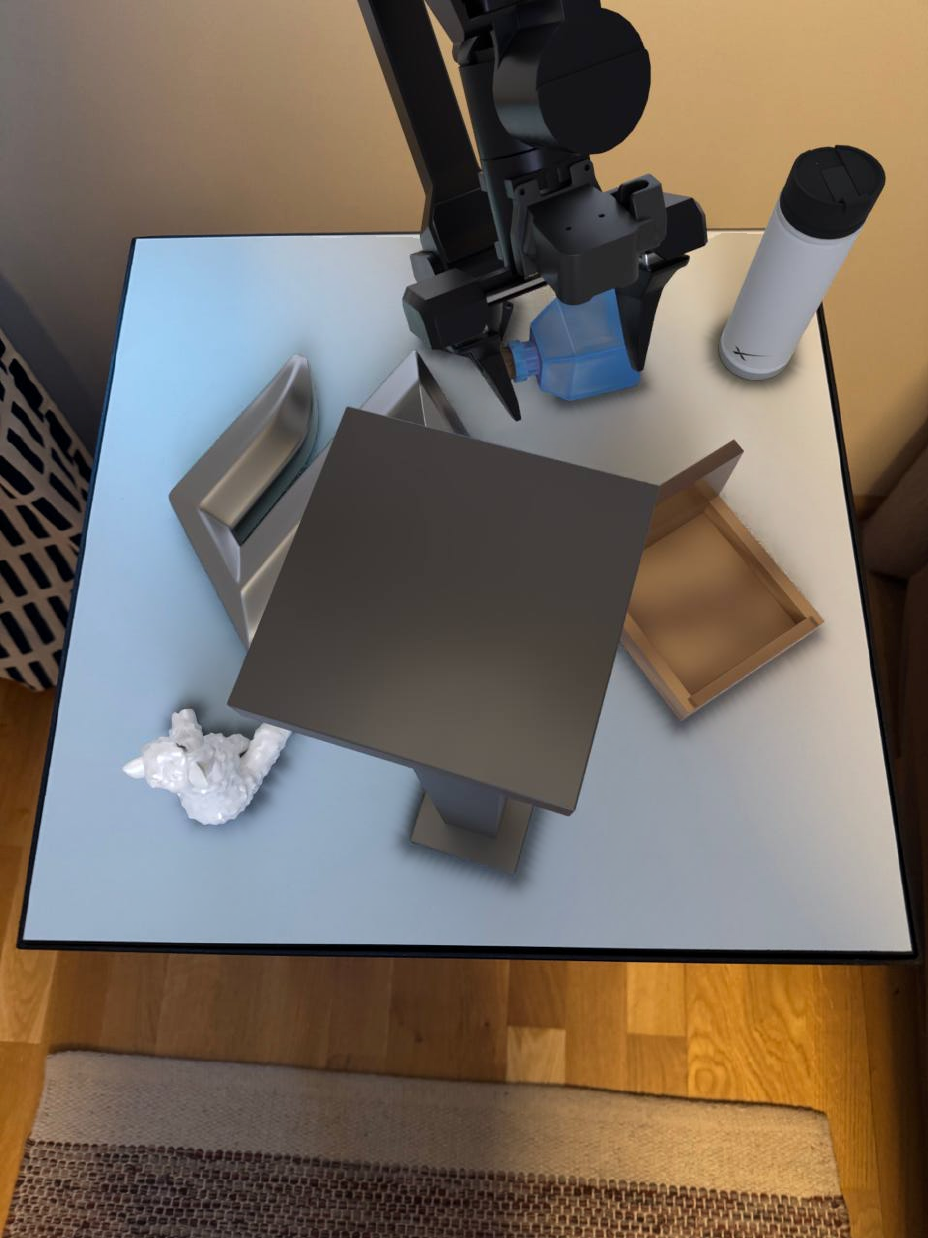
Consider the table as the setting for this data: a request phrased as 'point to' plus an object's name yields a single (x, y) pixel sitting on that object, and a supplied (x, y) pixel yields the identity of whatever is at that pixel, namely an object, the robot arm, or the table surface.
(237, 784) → the white creature statuette
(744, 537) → the oak drawer
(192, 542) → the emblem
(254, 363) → the table surface
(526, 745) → the plant stand
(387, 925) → the table surface
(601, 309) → the perfume bottle
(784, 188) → the travel mug
